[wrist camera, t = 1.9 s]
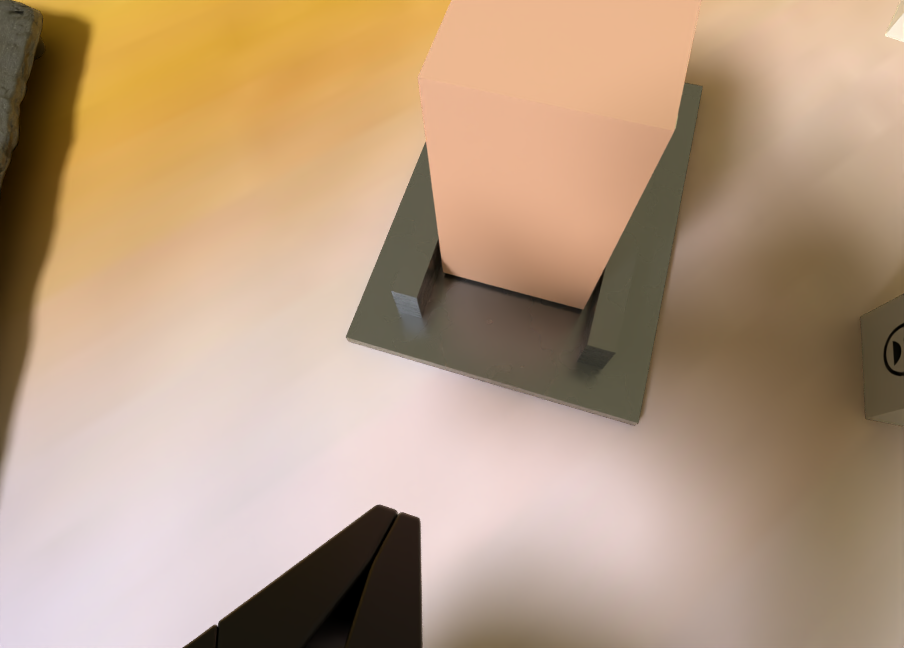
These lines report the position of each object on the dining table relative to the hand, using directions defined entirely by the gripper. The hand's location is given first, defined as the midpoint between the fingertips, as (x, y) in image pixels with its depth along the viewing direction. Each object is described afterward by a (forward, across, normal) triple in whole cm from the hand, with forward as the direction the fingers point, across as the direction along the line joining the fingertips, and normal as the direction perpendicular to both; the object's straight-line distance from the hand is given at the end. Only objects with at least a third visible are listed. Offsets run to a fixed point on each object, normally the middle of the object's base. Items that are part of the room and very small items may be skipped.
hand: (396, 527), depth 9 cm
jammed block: (+19, 0, -1) cm, 19 cm away
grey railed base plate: (+21, 0, -2) cm, 21 cm away
